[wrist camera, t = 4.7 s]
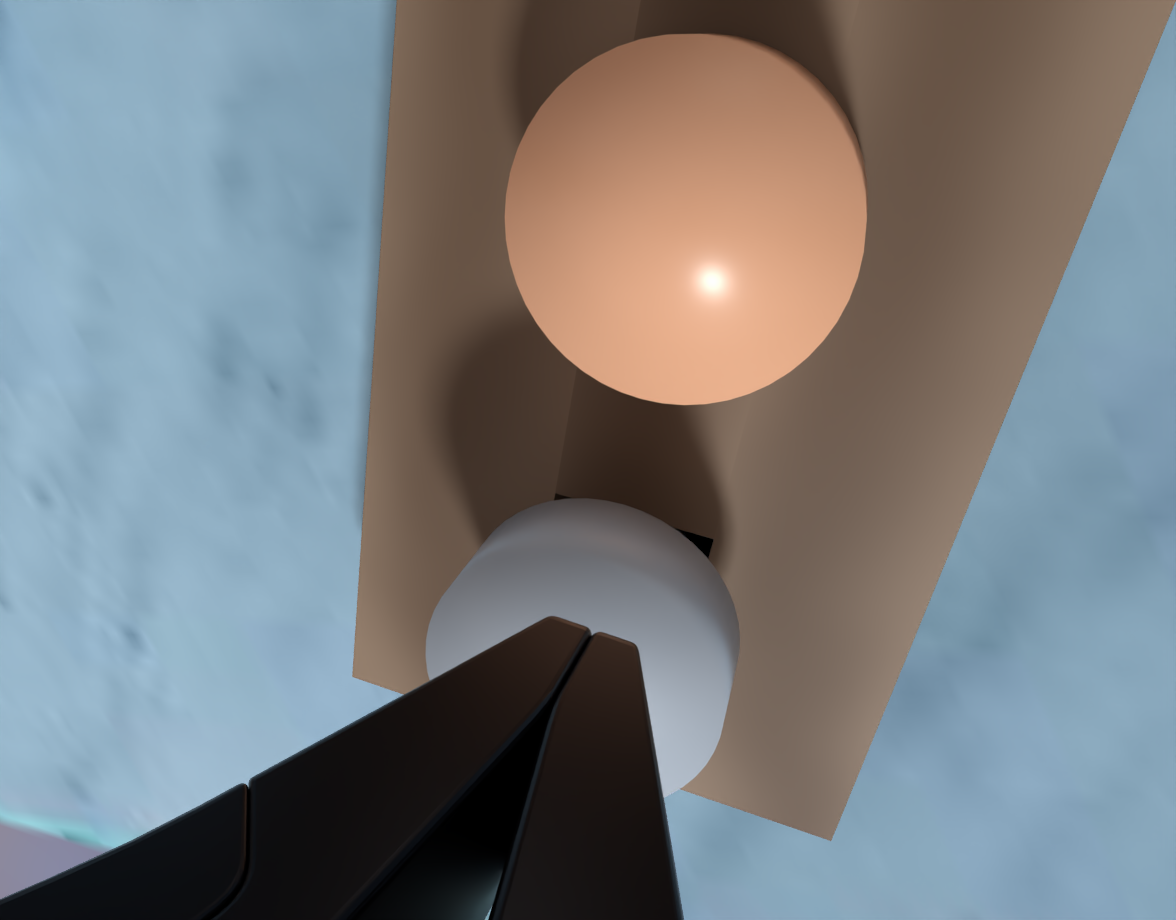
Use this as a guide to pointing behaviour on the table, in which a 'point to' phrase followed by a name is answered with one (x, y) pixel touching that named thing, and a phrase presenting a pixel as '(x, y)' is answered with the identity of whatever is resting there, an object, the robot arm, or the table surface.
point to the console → (773, 413)
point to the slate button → (607, 611)
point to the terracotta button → (687, 217)
